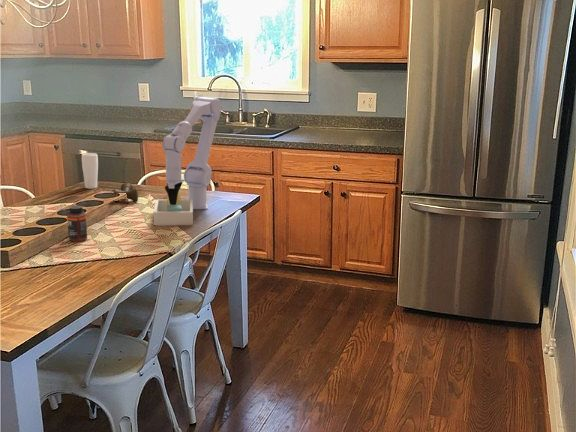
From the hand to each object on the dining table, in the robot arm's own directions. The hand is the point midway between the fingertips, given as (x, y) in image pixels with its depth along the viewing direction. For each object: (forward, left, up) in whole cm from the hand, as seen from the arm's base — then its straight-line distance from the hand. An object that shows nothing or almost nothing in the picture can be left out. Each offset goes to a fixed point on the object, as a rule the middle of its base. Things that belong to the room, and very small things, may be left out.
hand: (173, 202), depth 237 cm
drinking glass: (-45, -37, -5) cm, 58 cm away
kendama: (-25, -20, -6) cm, 33 cm away
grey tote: (+3, 0, -5) cm, 6 cm away
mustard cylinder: (0, 0, -2) cm, 2 cm away
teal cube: (+7, 0, -5) cm, 8 cm away
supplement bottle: (+27, -31, -6) cm, 42 cm away
